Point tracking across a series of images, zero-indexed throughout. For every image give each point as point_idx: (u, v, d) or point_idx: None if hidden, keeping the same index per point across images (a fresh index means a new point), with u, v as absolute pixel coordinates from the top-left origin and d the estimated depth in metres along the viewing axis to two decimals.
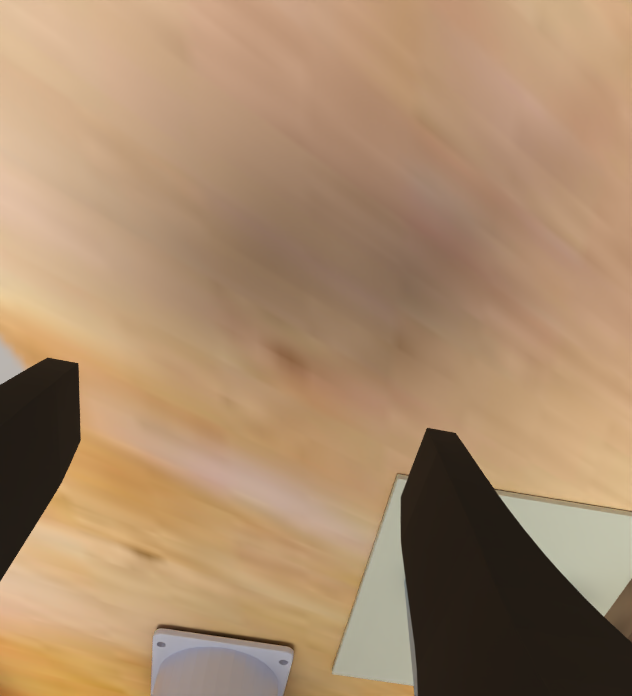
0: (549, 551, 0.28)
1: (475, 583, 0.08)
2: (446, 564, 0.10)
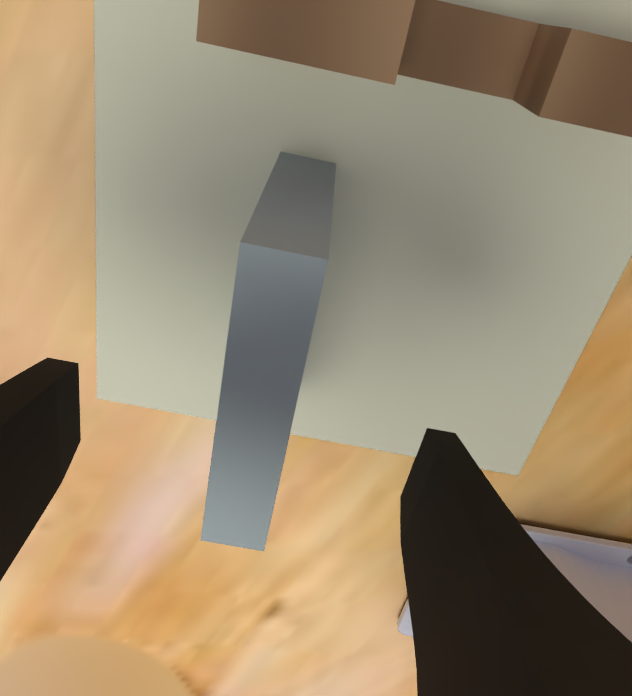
0: (197, 199, 0.17)
1: (475, 583, 0.08)
2: (446, 564, 0.10)
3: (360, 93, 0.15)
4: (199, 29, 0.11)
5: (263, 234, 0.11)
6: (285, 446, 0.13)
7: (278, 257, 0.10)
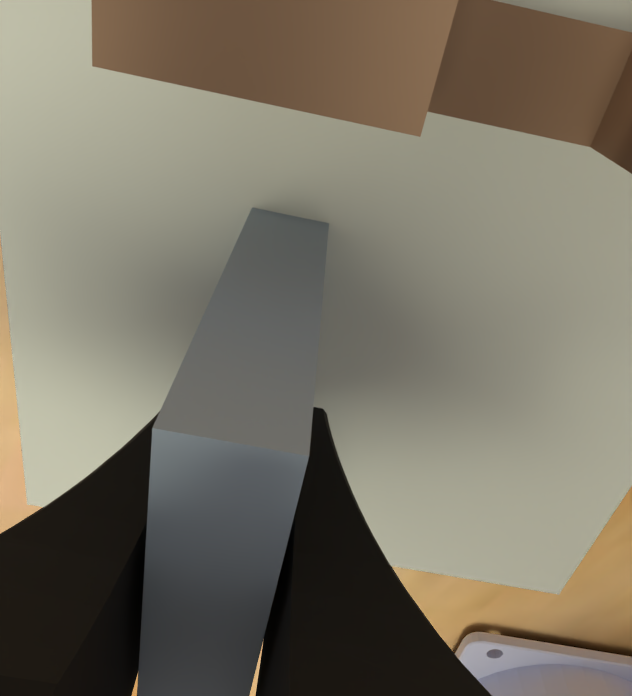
0: (141, 268, 0.13)
1: (289, 552, 0.08)
2: None
3: (362, 129, 0.11)
4: (95, 47, 0.07)
5: (199, 400, 0.06)
6: (248, 687, 0.08)
7: (221, 450, 0.06)
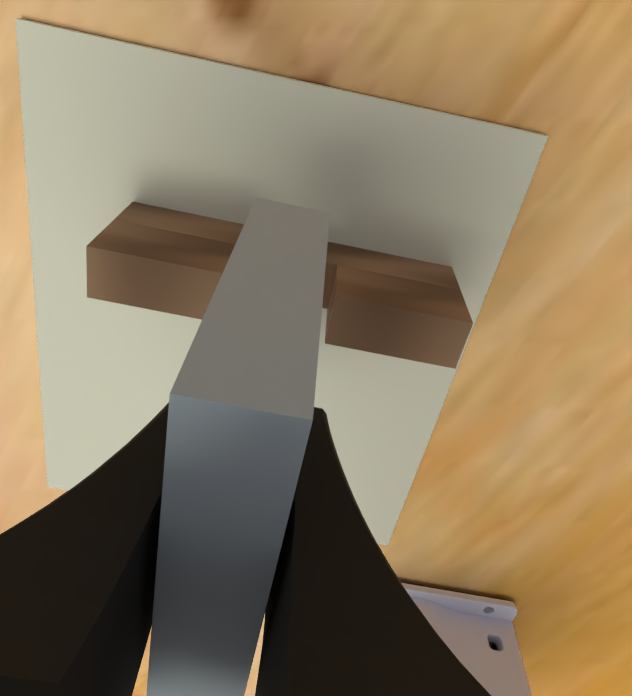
0: (115, 351, 0.22)
1: (288, 552, 0.08)
2: None
3: None
4: (88, 291, 0.17)
5: (211, 370, 0.07)
6: (254, 644, 0.09)
7: (232, 415, 0.06)
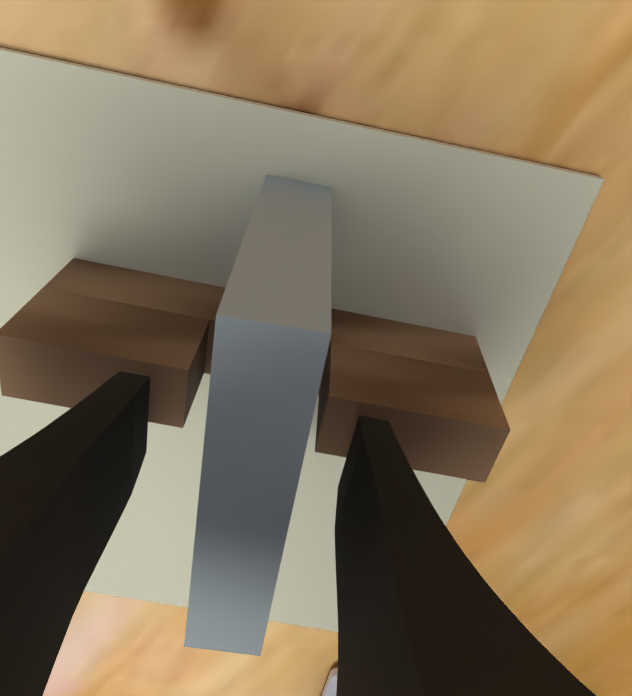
0: None
1: (380, 567, 0.08)
2: (363, 550, 0.09)
3: None
4: (2, 389, 0.13)
5: (247, 300, 0.08)
6: (282, 546, 0.10)
7: (266, 331, 0.08)
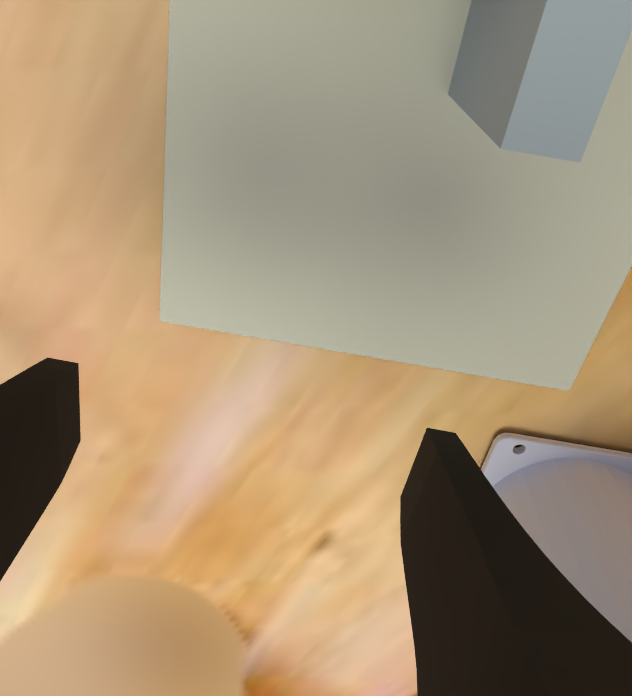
0: (265, 108, 0.18)
1: (475, 583, 0.08)
2: (446, 564, 0.10)
3: None
4: None
5: None
6: None
7: None
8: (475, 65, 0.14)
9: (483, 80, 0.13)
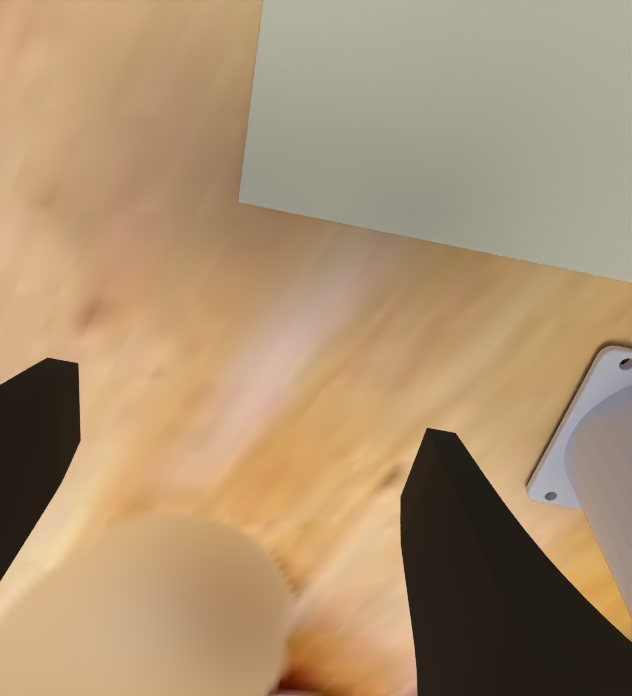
0: None
1: (475, 583, 0.08)
2: (446, 564, 0.10)
3: None
4: None
5: None
6: None
7: None
8: None
9: None
